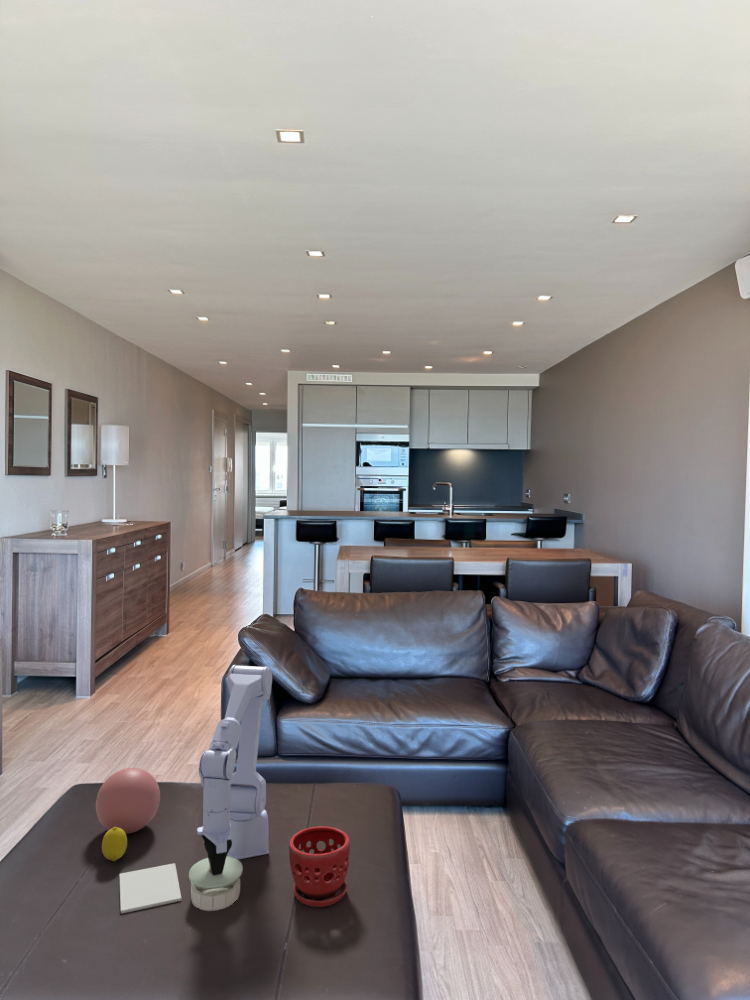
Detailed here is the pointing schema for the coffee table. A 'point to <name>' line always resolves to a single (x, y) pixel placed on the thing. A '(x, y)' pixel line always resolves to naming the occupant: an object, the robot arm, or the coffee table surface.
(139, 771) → the balloon
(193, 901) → the dish
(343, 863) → the plant pot
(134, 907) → the mat
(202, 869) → the lid
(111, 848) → the lemon
